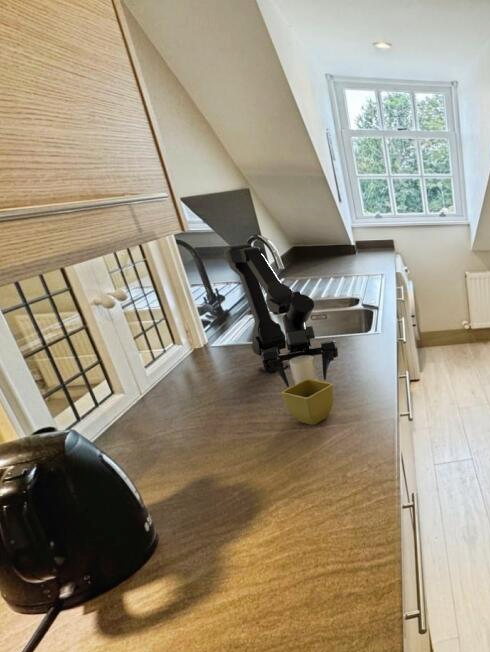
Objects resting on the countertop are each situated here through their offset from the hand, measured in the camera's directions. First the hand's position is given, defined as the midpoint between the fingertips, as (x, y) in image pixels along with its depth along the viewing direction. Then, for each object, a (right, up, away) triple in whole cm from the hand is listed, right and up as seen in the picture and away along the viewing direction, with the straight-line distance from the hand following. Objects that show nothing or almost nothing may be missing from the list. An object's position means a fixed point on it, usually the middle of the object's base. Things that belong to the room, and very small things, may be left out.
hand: (306, 383), depth 120 cm
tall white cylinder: (-1, -6, +4) cm, 7 cm away
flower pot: (+4, -9, -4) cm, 11 cm away
